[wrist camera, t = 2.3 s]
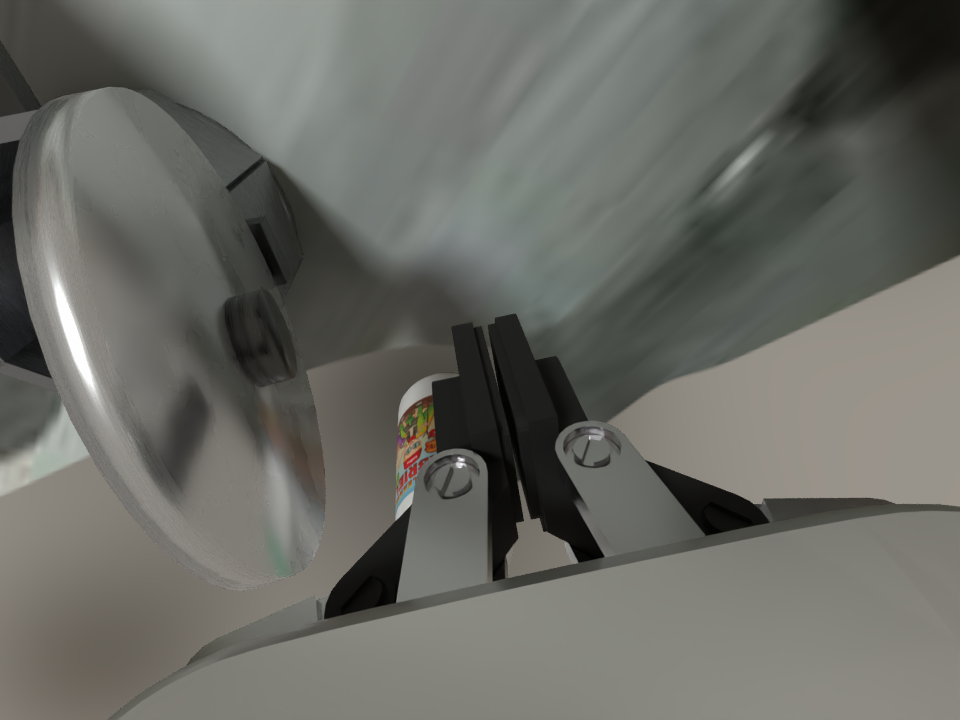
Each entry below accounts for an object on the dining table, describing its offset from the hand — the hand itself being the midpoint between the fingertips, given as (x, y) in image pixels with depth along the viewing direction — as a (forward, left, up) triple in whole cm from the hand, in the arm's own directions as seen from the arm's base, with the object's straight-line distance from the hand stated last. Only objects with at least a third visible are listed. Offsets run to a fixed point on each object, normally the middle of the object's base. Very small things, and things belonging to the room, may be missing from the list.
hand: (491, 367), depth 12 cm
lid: (+9, 0, -4) cm, 9 cm away
